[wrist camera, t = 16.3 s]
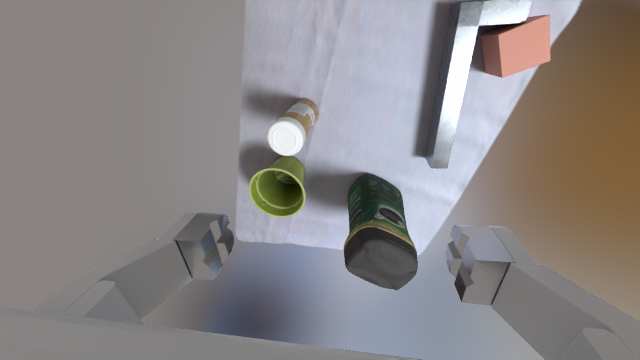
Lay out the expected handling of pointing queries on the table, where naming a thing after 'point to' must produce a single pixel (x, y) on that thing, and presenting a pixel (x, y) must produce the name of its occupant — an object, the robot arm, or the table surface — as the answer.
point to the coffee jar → (379, 235)
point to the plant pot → (279, 188)
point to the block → (517, 46)
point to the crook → (463, 66)
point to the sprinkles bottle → (293, 128)
